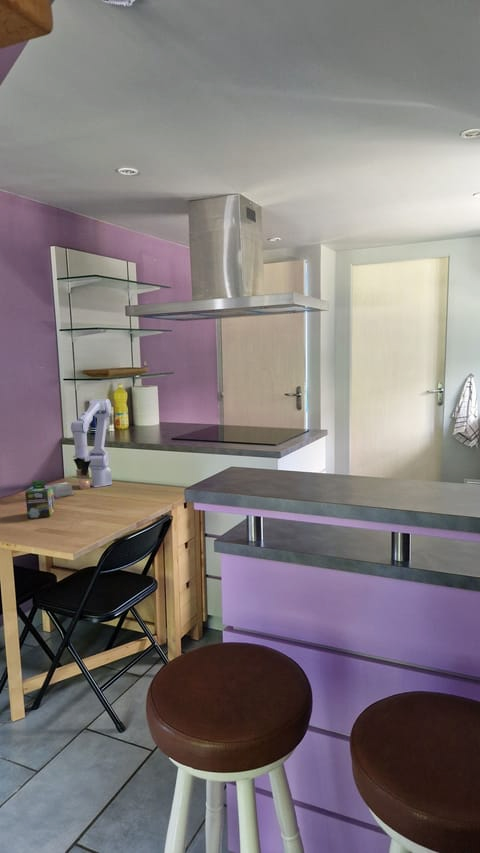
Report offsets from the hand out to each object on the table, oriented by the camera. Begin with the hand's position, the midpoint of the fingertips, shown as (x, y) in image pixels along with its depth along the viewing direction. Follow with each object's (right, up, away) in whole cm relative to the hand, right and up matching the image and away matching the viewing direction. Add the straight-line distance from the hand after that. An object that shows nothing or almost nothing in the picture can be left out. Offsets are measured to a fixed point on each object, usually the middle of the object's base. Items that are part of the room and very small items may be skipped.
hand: (83, 474), depth 256 cm
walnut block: (0, -2, 0) cm, 2 cm away
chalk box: (-8, -15, -31) cm, 36 cm away
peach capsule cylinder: (-3, -8, +12) cm, 15 cm away
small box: (-10, -10, +1) cm, 15 cm away
